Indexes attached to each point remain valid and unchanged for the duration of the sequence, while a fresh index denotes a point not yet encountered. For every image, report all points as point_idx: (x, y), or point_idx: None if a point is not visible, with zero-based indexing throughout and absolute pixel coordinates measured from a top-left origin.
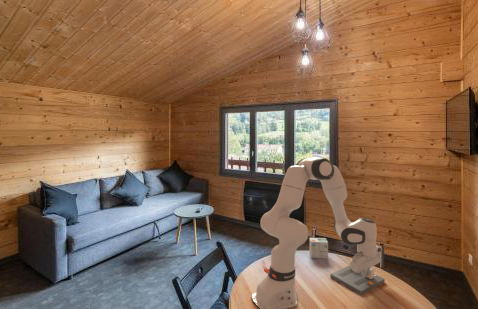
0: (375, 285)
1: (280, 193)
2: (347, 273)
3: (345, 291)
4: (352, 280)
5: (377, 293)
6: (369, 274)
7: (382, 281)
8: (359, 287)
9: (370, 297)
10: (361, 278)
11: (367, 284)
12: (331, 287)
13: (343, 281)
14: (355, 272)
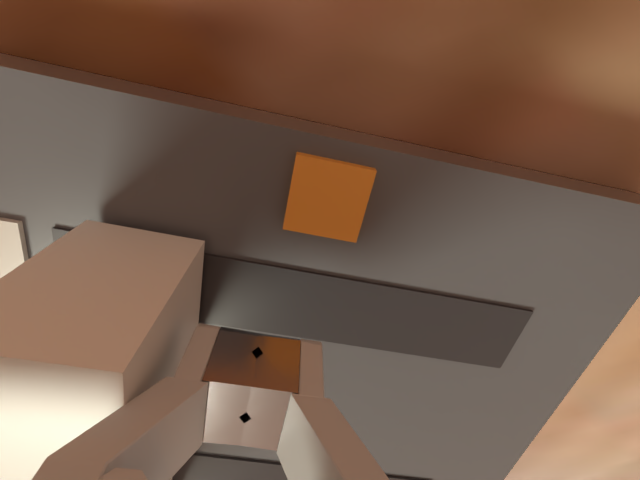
0: (270, 119)
1: None
2: None
3: (632, 345)
4: (442, 393)
5: (436, 15)
6: (175, 317)
7: (15, 63)
8: (584, 275)
9: (632, 66)
10: None
11: (407, 221)
12: (620, 443)
13: (527, 440)
14: None
